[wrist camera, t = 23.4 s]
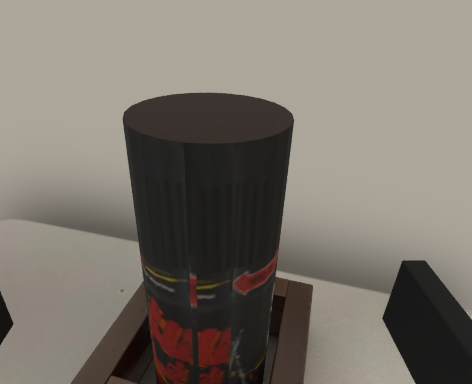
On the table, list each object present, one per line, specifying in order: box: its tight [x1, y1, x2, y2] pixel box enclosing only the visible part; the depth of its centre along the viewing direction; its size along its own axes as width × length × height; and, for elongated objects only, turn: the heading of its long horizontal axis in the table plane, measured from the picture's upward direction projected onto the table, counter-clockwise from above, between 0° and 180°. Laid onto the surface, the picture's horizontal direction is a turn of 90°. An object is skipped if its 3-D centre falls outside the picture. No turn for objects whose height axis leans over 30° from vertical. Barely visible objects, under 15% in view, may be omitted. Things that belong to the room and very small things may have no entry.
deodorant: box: [123, 93, 294, 384], centre depth 16 cm, size 6×6×15 cm
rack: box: [71, 277, 313, 384], centre depth 19 cm, size 10×10×4 cm
